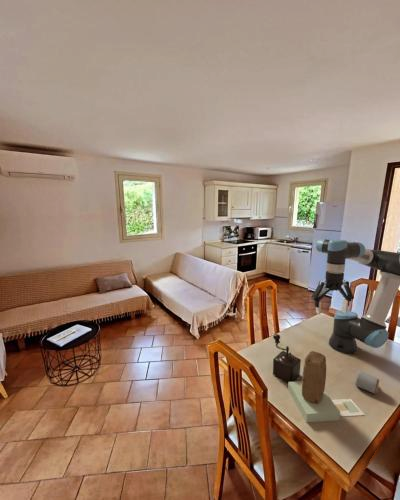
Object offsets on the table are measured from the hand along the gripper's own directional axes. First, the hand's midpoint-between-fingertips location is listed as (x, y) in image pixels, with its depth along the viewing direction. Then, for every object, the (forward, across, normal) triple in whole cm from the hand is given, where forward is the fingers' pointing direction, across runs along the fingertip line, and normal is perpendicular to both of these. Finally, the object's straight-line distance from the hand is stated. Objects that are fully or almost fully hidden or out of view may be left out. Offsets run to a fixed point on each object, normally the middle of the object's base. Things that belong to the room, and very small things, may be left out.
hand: (331, 312), depth 110 cm
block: (+31, -17, -17) cm, 39 cm away
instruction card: (+35, -3, -20) cm, 40 cm away
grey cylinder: (+35, +15, -10) cm, 39 cm away
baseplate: (+35, -17, -17) cm, 42 cm away
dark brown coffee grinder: (+35, -22, +3) cm, 41 cm away
